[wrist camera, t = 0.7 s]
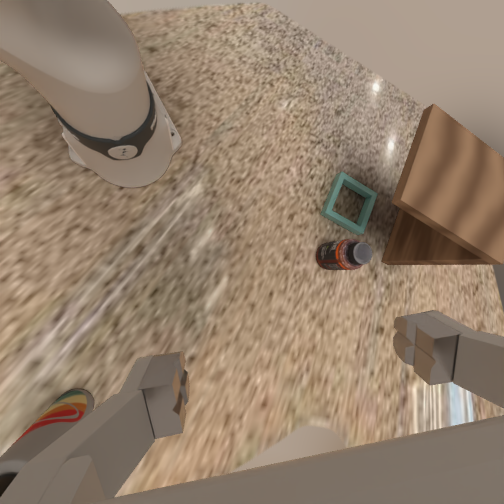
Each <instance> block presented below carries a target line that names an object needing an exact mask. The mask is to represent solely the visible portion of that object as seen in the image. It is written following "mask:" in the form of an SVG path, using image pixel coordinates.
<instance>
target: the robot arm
mask: <svg viewBox="0 0 504 504" xmlns="http://www.w3.org/2000/svg"><path fill="white" fill-rule="evenodd" d="M0 60H1V61H2V62H4V63H5V64H7V65H8V66H10V67H11V68H13V69H14V70H15V71H17V72H18V73H19V74H20V75H22V76H23V77H24V78H25V79H26V80H27V81H28V82H29V83H30V84H31V85H32V86H33V87H34V88H35V89H36V90H37V91H38V92H39V93H40V94H41V95H42V96H43V97H44V98H45V99H46V100H47V101H48V102H49V103H50V105H51V108H52V110H53V112H54V113H55V115H56V116H57V118H58V122H59V124H60V125H61V126H63V132H62V136H63V138H64V139H65V141H66V142H67V143H68V148H69V156H70V158H71V160H72V161H73V162H74V163H76V164H77V165H80V166H82V167H85V168H89V169H91V170H93V171H94V172H95V173H96V174H98V175H99V176H100V177H101V178H103V179H104V180H106V181H108V182H110V183H112V184H115V185H118V186H122V187H129V188H135V187H142V186H146V185H149V184H151V183H153V182H155V181H156V180H158V179H159V178H160V177H161V176H162V175H163V174H164V173H165V171H166V170H167V168H168V166H169V164H170V161H171V158H172V156H173V154H174V153H175V152H176V151H177V150H178V149H179V148H180V147H181V145H182V140H181V137H180V135H179V133H178V131H177V129H176V128H175V126H174V124H173V122H172V120H171V118H170V116H169V114H168V113H167V111H166V109H165V107H164V105H163V103H162V101H161V99H160V97H159V96H158V94H157V92H156V90H155V88H154V86H153V84H152V82H151V80H150V79H149V77H148V75H147V73H146V72H145V71H144V69H143V65H142V60H141V56H140V52H139V47H138V44H137V42H136V39H135V37H134V35H133V33H132V31H131V30H130V28H129V26H128V25H127V23H126V22H125V21H124V19H123V18H122V17H121V15H120V14H119V13H118V12H117V11H116V10H115V8H114V7H113V6H112V5H111V4H110V3H109V2H108V1H107V0H0ZM171 134H174V136H171ZM394 328H395V329H396V331H397V333H396V334H395V336H394V337H393V346H394V349H395V351H396V353H397V355H398V356H399V358H400V359H401V360H402V361H403V362H404V363H407V364H409V365H412V366H413V368H414V372H415V373H416V374H418V375H419V376H420V377H421V378H422V379H423V380H424V381H425V382H426V383H427V384H429V385H435V384H441V383H448V382H453V383H454V384H456V385H458V386H460V387H462V388H464V389H466V390H468V391H470V392H472V393H474V394H476V395H478V396H480V397H482V398H484V399H486V400H488V401H490V402H492V403H494V404H496V405H498V406H500V407H502V408H504V337H502V336H498V335H494V334H490V333H486V332H482V331H479V332H476V331H474V330H472V329H471V328H469V327H467V326H465V325H463V324H461V323H459V322H457V321H455V320H454V319H452V318H450V317H448V316H446V315H444V314H442V313H440V312H439V311H434V310H432V311H426V312H421V313H418V314H412V315H406V316H401V317H396V319H395V321H394ZM185 362H186V361H185V356H184V353H183V352H182V351H181V352H174V353H167V354H160V355H154V356H153V355H152V356H146V357H140V358H138V359H137V360H136V362H135V364H134V366H133V367H132V369H131V371H130V373H129V375H128V377H127V379H126V381H125V382H124V384H123V386H122V388H121V390H120V392H119V394H115V395H113V396H111V397H110V398H109V399H108V400H106V401H105V402H104V403H102V404H101V405H100V406H99V407H97V408H96V409H95V410H94V411H92V412H91V413H90V414H89V415H87V416H86V417H85V418H83V419H82V420H81V421H80V422H78V423H77V424H76V425H75V426H73V427H72V428H71V429H70V430H68V431H67V432H66V433H64V434H63V435H62V436H61V437H59V438H58V439H57V440H56V441H54V442H53V443H52V444H51V445H49V446H48V447H47V448H45V449H44V450H43V451H42V452H40V453H39V454H38V455H37V456H35V457H34V458H33V459H32V460H30V461H29V462H28V463H26V464H25V465H24V466H23V467H22V469H21V470H20V471H19V473H18V474H17V476H16V477H15V478H14V480H13V481H12V482H11V484H10V485H9V486H8V488H7V489H6V490H5V492H4V493H3V494H2V496H1V497H0V504H504V415H502V416H498V417H493V418H488V419H483V420H479V421H474V422H469V423H464V424H460V425H455V426H450V427H445V428H441V429H436V430H431V431H426V432H421V433H417V434H412V435H407V436H403V437H398V438H393V439H388V440H384V441H379V442H374V443H370V444H365V445H360V446H355V447H351V448H346V449H341V450H337V451H332V452H327V453H323V454H318V455H313V456H309V457H304V458H299V459H295V460H290V461H285V462H280V463H276V464H271V465H266V466H261V467H257V468H252V469H247V470H242V471H238V472H233V473H228V474H223V475H219V476H214V477H209V478H205V479H200V480H195V481H190V482H186V483H181V484H176V485H171V486H167V487H162V488H157V489H153V490H148V491H143V492H138V493H134V494H129V495H124V496H120V497H115V498H114V496H115V495H116V494H117V492H118V491H119V490H120V488H121V487H122V485H123V484H124V483H125V481H126V480H127V479H128V477H129V476H130V474H131V473H132V472H133V470H134V469H135V468H136V466H137V465H138V463H139V462H140V461H141V459H142V458H143V456H144V455H145V454H146V452H147V451H148V450H149V448H150V447H151V445H152V444H153V443H154V441H155V439H157V438H162V437H166V436H171V435H175V434H180V433H183V429H184V423H185V418H186V410H185V405H186V404H187V402H188V400H189V386H190V385H189V376H188V372H187V371H186V370H185V369H184V367H185Z"/></svg>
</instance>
